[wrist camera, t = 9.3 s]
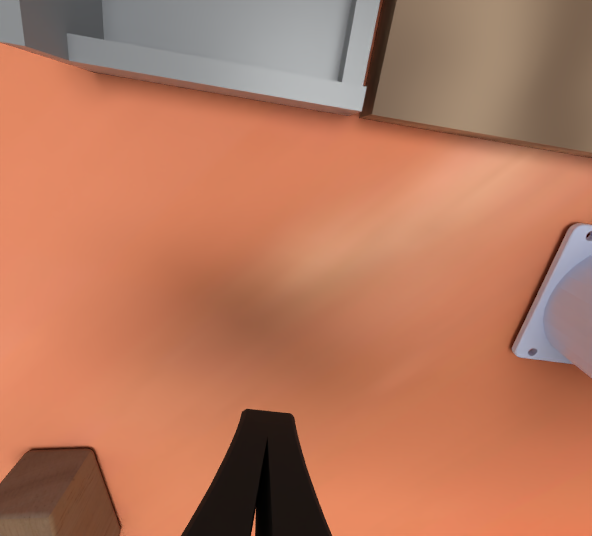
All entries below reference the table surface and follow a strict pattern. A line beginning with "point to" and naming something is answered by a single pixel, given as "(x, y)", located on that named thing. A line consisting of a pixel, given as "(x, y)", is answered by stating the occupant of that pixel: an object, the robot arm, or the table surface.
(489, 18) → the walnut board
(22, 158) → the table surface
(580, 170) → the table surface
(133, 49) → the gray box
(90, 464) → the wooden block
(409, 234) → the table surface
